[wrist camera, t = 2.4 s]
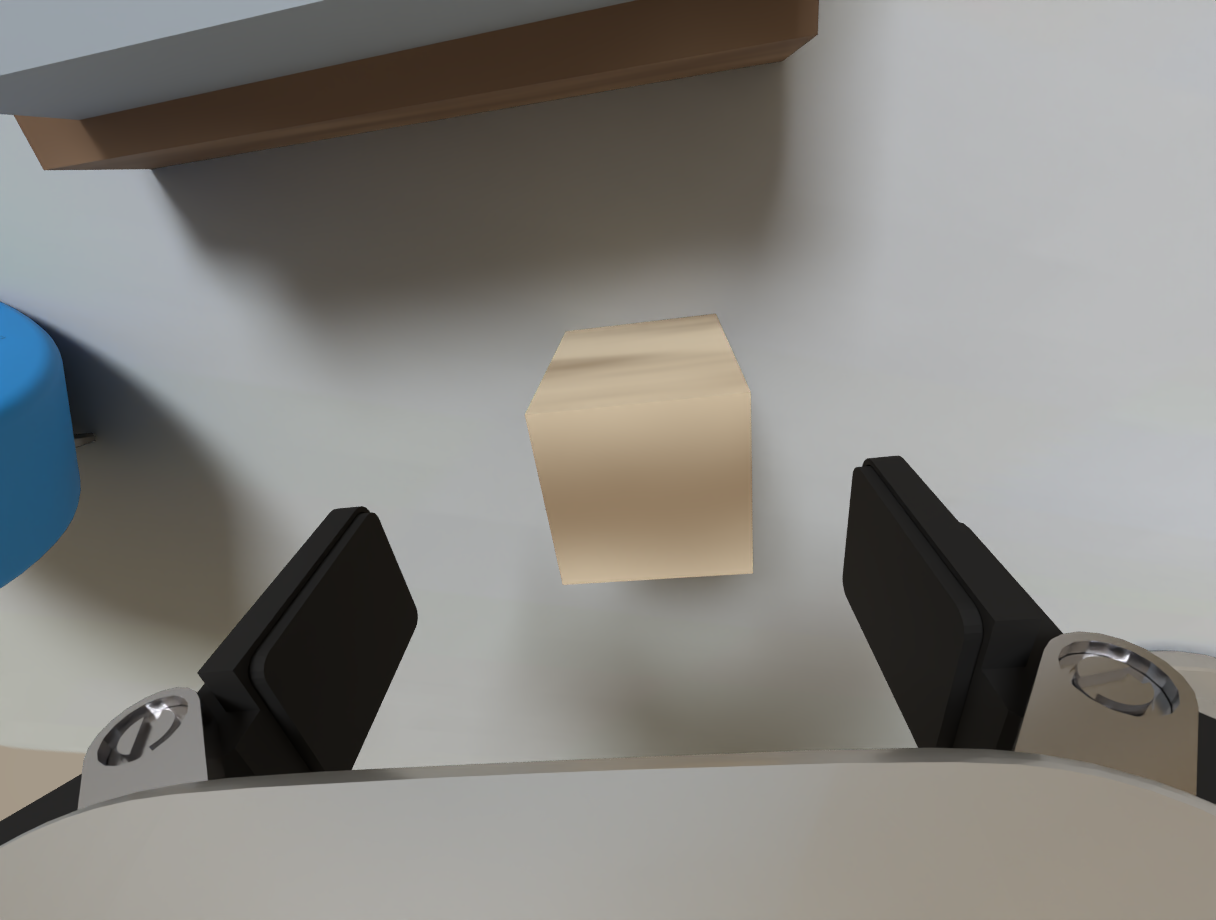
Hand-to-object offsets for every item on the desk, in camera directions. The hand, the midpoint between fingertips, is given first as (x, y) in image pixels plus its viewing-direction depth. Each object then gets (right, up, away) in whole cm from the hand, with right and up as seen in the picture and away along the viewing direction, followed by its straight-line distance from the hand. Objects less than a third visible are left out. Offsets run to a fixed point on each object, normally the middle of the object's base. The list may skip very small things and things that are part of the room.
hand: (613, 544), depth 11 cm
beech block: (+1, +4, +9) cm, 9 cm away
